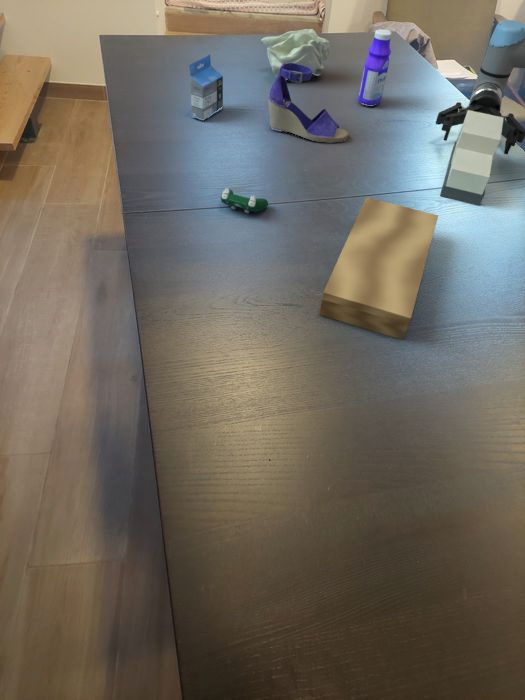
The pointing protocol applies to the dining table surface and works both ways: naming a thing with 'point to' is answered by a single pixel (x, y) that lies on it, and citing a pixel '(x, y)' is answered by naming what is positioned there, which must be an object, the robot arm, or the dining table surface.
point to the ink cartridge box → (205, 88)
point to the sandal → (291, 116)
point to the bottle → (375, 68)
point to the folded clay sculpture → (297, 50)
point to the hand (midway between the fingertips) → (477, 141)
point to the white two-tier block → (472, 158)
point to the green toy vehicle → (243, 201)
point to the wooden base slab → (380, 268)
